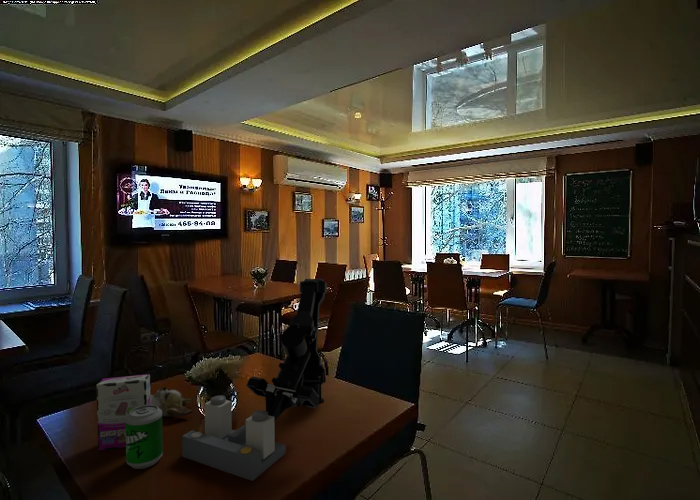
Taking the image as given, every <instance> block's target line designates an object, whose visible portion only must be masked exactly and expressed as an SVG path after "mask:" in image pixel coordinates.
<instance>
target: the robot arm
mask: <svg viewBox="0 0 700 500" xmlns="http://www.w3.org/2000/svg"><path fill="white" fill-rule="evenodd" d="M327 291H328V283H327V282H326V281H324V279H323V278H305V279H304V280H302V281H299V293H300V297H299V302H298V306H297V312H296V314H295V315H294V316H293V317H292V318H291V319H290V322H289V326H287V327H286V329H285V330H283V332H282V333H281V336H280V343H281V345H282V347H283V351H284V354H285V358H284V360H283V361H282V362H279V364H278V368H279V371H278V374H277V376H276V377H272V378H271V383H272V384H270V383H269V382H268V381H267V380H266V379H265V378H263V377H260V376H259V377H257V376H251V377H250V378H249V379H248V380H247V382H246V387H247V388H248V390H250V392H252V393H253V394H254V395H255V396H258V397H262V398H264V399H265V411H267V412H268V415H269V416H273V417H274V423H275V422H276V421H277V419H279V417H280V416H281V415H282V414H284V412H285V411H286V410H287V409H289V408H292V407H299V408H300V407H302V406H305V407H308V408H313V409H317V408H318V406H319V404H320V403H323V402H325V399H324V398H322V385H323V384H325V383H326V381H327V376H326V369H325V368H324V364H323V363H322V358H321V356H320V354H319V352H318V339H319V323H320V322H319V321H320V306H321V305H322V303H323V302H324V301H325V299H326V298H325V297H326V295H325V294H327Z"/></svg>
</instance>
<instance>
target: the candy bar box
mask: <svg viewBox="0 0 700 500" xmlns="http://www.w3.org/2000/svg"><path fill="white" fill-rule="evenodd" d="M95 387H96V388H95V391H96V418H97V419H96V420H97V423H96V424H97V450H98V451H99V452H100V451H109V450H116V449H121V448H126V426H125V419H126V416H127V415H128V414H129V413H130V411H131V410H133V409H135V408H137V407H140V406H145V405H151V395H152V394H151V375H150V374H149V373H148V374H138V375H129V376H128V375H126V376H117V377H108V378H107V377H106V378H102V379H101V380H100V381H99V382H98V383H97V384H96V385H95Z"/></svg>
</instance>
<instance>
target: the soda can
mask: <svg viewBox="0 0 700 500" xmlns="http://www.w3.org/2000/svg"><path fill="white" fill-rule="evenodd" d="M125 426H126V447H125V457H126V458H125V459H126V460H125V463H126V464H127V466H130V467H131V468H133V469H135V470H142V469H146V468H149V467H152V466H154V465H155V464H156V463H158V462H159V460H160V459H161V458H162V456H164V455H163V454H164V448H163V447H164V446H163V445H164V444H163V442H164V441H163V439H164V438H163V436H164V435H163V416H162V410H161V409H159V408H158V407H157V406H155V405H145V406H140V407H137V408H135V409H133V410H131V411H130V413H129V414H128V415H127V416H126V419H125Z"/></svg>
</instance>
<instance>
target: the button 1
mask: <svg viewBox="0 0 700 500" xmlns="http://www.w3.org/2000/svg"><path fill="white" fill-rule="evenodd" d="M232 410H233V409H232V400H228V399H226V396H225V395H215V396H213V397H211V398H210V400H209V401H206V402H205V403H204V434H206V435H210V436H213V437H216V438H220V439H222V438H224V437H225V436H227V435H228V434H230V433H231V432H232V430H233V429H232V427H233V422H232V420H233V419H232V415H233V413H232Z"/></svg>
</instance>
